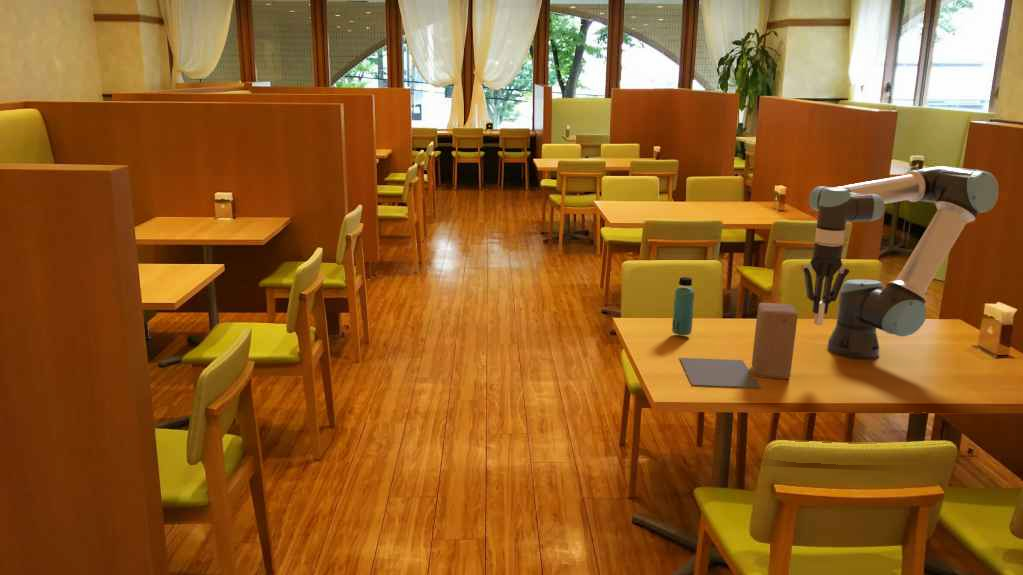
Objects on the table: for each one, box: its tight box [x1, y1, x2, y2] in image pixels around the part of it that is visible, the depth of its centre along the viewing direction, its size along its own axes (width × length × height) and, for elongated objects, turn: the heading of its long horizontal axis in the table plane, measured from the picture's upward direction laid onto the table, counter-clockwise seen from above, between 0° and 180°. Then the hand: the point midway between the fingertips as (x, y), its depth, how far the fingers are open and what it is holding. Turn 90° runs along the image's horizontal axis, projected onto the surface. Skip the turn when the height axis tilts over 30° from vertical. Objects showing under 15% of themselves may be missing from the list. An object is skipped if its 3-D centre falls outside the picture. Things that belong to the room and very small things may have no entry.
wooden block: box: [751, 301, 798, 380], centre depth 236 cm, size 10×10×20 cm
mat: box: [678, 357, 762, 390], centre depth 238 cm, size 19×22×1 cm
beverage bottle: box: [671, 276, 696, 336], centre depth 267 cm, size 6×7×20 cm
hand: (818, 324), depth 235 cm, fingers closed
